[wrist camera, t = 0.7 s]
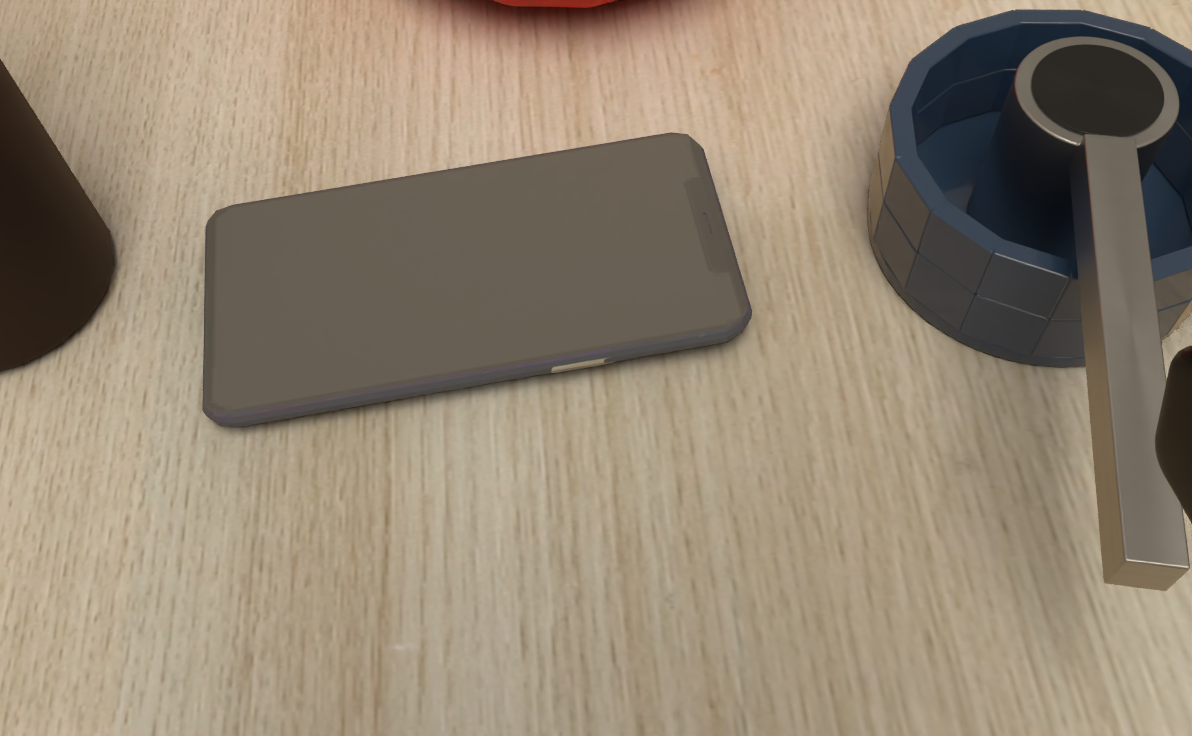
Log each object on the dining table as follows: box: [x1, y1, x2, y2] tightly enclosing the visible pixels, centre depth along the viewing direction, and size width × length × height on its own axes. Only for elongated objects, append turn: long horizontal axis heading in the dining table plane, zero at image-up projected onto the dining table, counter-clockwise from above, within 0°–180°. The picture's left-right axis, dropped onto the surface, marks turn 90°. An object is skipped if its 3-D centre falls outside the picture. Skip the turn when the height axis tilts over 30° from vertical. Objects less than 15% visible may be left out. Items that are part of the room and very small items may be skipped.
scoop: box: [968, 37, 1190, 591], centre depth 27 cm, size 15×4×6 cm, turn 171°
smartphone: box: [203, 133, 752, 427], centre depth 32 cm, size 8×1×15 cm
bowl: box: [868, 10, 1192, 367], centre depth 31 cm, size 10×10×4 cm
